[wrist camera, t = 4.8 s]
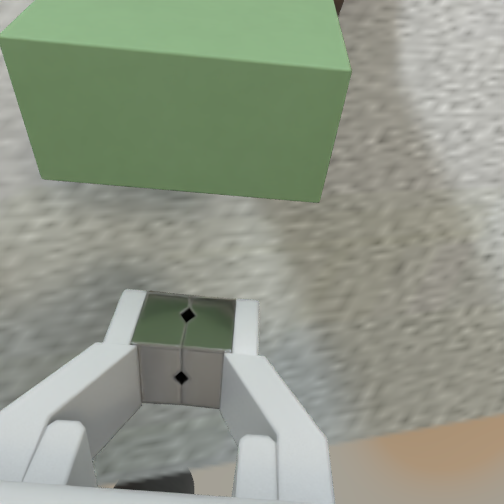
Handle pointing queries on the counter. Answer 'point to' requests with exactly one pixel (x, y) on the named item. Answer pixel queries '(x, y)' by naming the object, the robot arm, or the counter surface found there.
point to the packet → (182, 93)
